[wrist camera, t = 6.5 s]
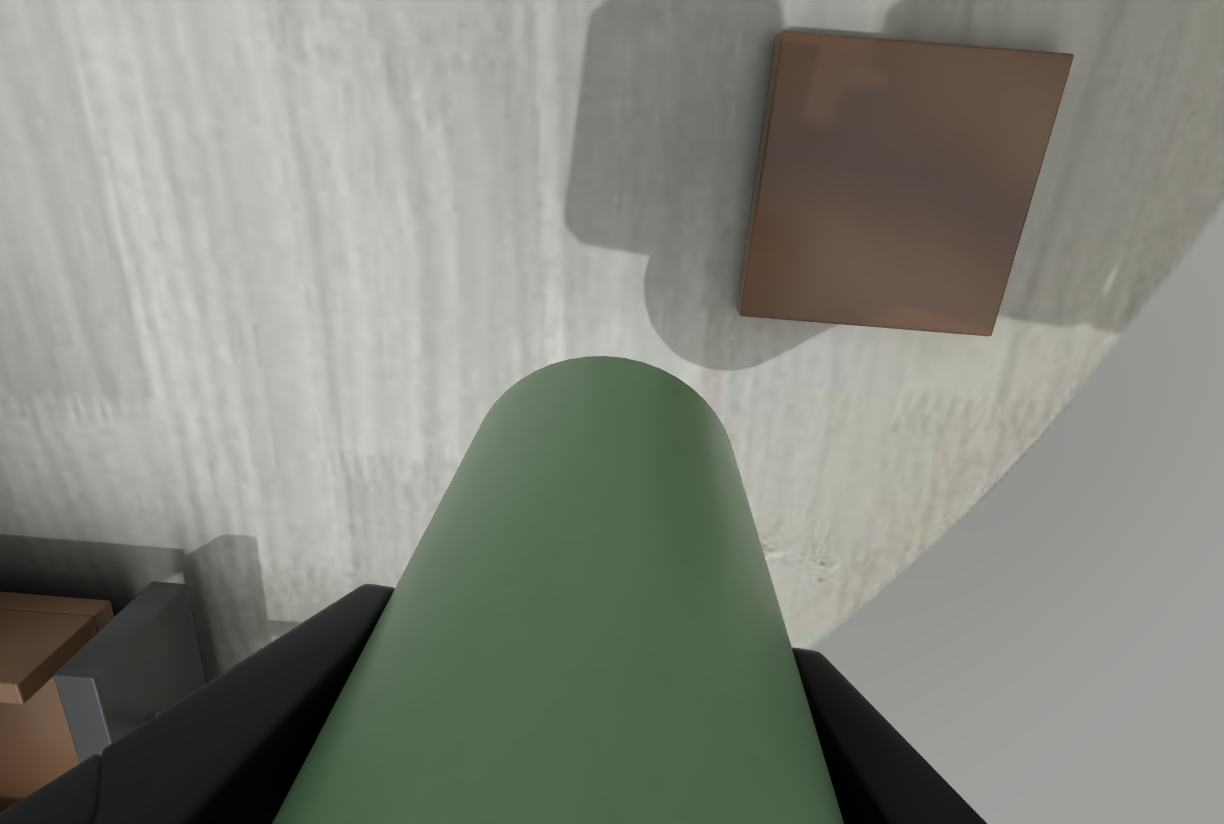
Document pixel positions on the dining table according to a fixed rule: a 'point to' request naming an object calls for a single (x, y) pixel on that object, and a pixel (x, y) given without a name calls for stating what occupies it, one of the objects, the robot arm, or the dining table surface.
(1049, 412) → the dining table surface
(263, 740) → the robot arm
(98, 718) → the drawer
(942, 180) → the plate
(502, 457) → the green bottle
